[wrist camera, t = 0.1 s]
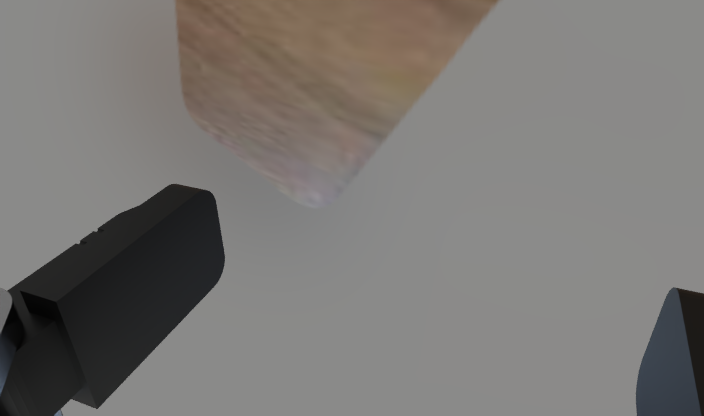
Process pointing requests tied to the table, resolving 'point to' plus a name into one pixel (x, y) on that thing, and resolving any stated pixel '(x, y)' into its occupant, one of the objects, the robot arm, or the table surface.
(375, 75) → the table surface
